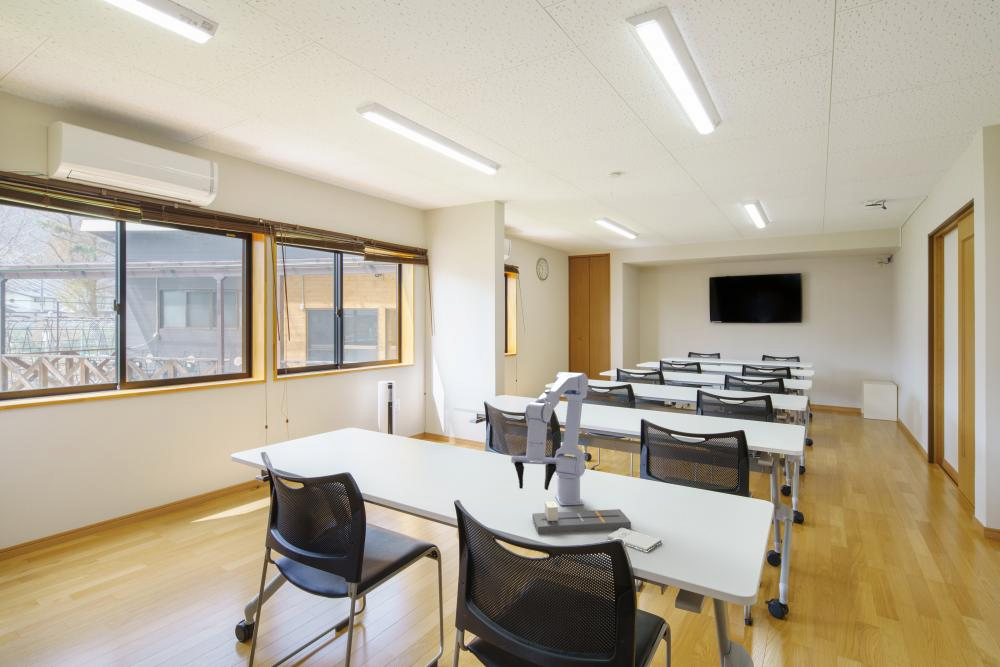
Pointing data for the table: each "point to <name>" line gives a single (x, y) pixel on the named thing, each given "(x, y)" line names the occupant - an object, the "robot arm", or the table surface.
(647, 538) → the external hard drive
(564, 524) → the console
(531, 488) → the table surface
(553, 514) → the fader tab
